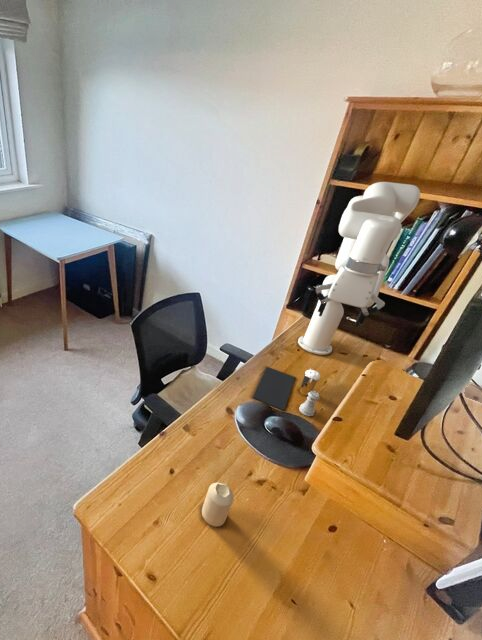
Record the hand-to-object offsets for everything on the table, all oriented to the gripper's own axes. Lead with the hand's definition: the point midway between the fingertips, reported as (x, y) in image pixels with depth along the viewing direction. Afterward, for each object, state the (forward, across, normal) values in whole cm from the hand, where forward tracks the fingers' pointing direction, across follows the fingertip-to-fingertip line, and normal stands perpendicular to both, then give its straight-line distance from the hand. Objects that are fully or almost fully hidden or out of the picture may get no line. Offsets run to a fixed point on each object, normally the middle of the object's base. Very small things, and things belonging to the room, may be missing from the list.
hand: (338, 319), depth 104 cm
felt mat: (+29, +9, +3) cm, 31 cm away
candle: (+32, +11, +59) cm, 68 cm away
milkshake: (+30, 0, -1) cm, 30 cm away
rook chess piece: (+30, -2, +9) cm, 31 cm away
